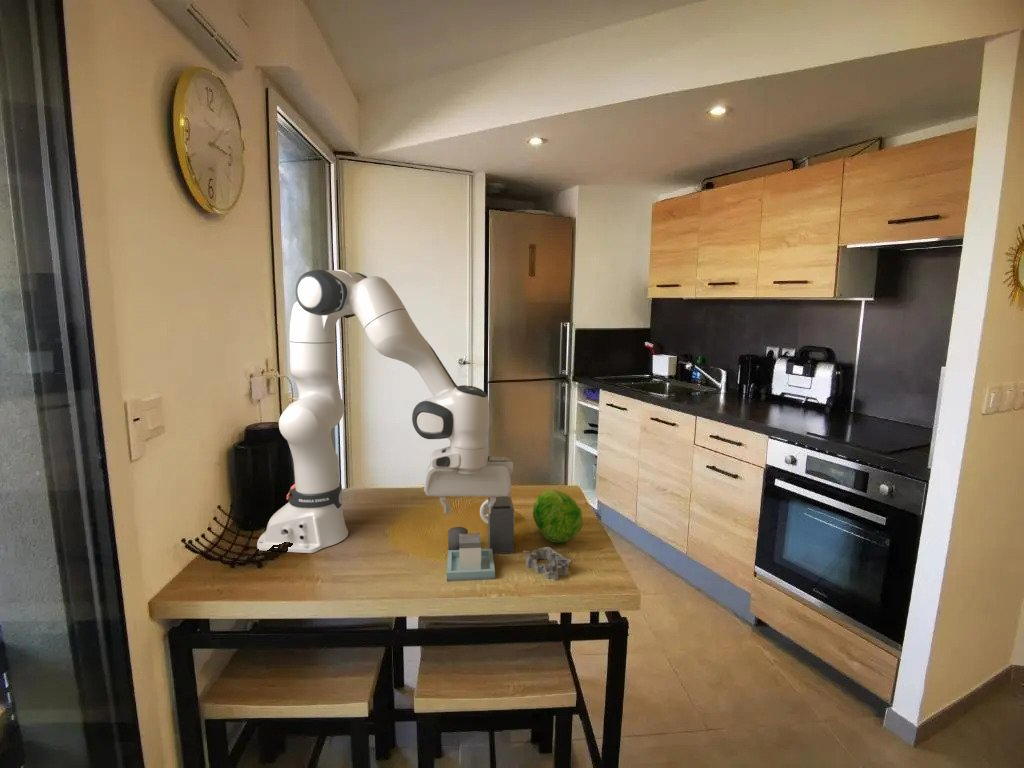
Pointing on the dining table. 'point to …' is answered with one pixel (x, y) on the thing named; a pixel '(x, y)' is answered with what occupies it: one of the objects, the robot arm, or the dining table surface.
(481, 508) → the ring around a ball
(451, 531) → the knob
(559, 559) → the gray jagged ring
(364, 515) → the dining table surface
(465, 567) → the cartridge
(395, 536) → the dining table surface
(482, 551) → the tray
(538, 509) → the lettuce
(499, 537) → the block
